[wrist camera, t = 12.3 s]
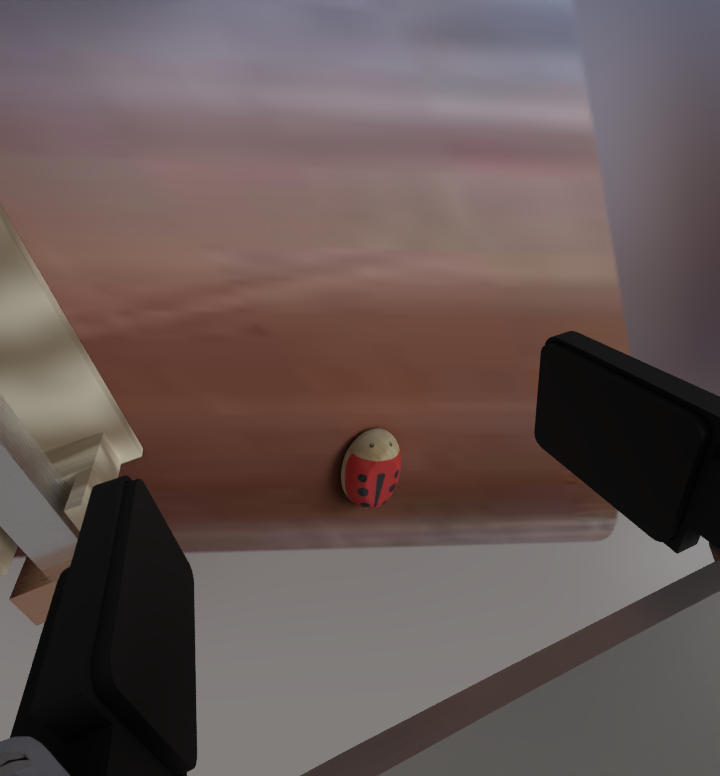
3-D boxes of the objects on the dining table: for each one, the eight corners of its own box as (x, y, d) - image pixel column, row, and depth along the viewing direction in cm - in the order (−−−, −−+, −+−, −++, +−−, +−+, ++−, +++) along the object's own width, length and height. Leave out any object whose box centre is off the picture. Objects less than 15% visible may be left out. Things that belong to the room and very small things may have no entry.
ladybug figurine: (400, 421, 46) (415, 439, 43) (391, 494, 50) (404, 514, 47) (340, 429, 44) (352, 448, 41) (336, 504, 48) (346, 527, 45)
